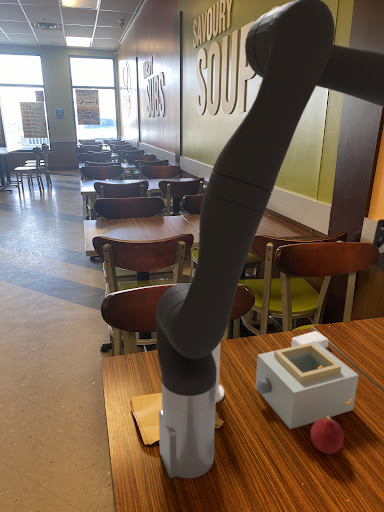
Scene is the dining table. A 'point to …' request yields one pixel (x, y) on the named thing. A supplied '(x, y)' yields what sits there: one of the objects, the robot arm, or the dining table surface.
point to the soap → (310, 339)
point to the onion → (327, 435)
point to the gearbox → (305, 383)
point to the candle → (217, 360)
